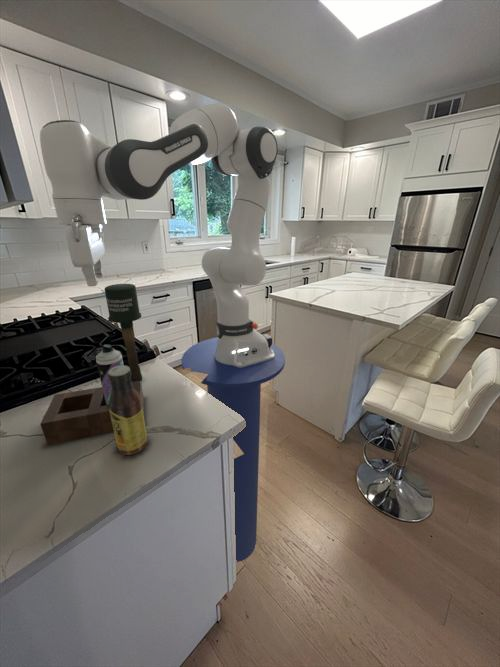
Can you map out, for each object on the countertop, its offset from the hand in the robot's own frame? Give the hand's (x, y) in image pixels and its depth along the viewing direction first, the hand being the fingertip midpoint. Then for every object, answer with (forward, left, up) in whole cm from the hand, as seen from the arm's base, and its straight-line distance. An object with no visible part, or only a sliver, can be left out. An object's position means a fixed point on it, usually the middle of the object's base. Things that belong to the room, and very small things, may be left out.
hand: (96, 281), depth 63 cm
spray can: (0, +6, -34) cm, 34 cm away
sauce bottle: (-4, +18, -34) cm, 39 cm away
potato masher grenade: (-4, -10, -34) cm, 36 cm away
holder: (+4, +6, -34) cm, 34 cm away
